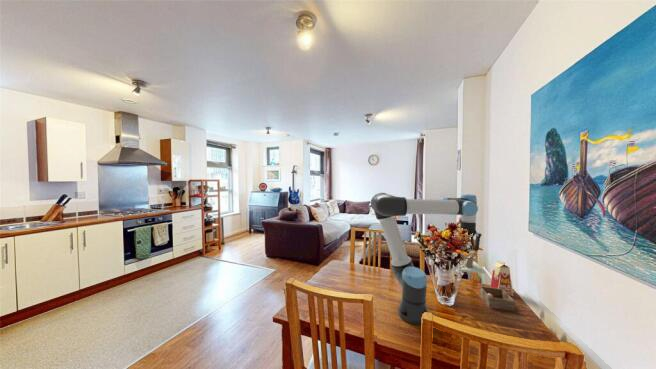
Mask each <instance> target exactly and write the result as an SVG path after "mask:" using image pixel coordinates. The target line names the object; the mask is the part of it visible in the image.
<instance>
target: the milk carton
mask: <svg viewBox="0 0 656 369" xmlns="http://www.w3.org/2000/svg"><path fill="white" fill-rule="evenodd" d="M505 263H506V262H504V261H503V262H501V261H499V260H496V263H495V264H494V265H493V269H492V273H491V279H490V285H489V286H490V287H491V288H500V289H503V290H504V291H505V292H506V293H507V294H508V295H509V296H510V297H511V296H512V297H514V292H513V285H512V279H511V278H512V277H511V270H510V267H509V266H508V265H506V264H505Z"/></svg>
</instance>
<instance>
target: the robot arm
mask: <svg viewBox="0 0 656 369" xmlns="http://www.w3.org/2000/svg"><path fill="white" fill-rule="evenodd" d="M477 200H478V199H477V196H476V195H475V194H470V193H469V194H467V193H465V194H464V193H463V194H461V196H460V197H441V198H440V199H419V198H418V199H417V198H416V199H414V198H412V199H411V198H409V199H407V198H406V197H405V196H404V197H403V196H396V195H395V196H394V195H392V194H389V193H386V192H377V193H375V194H374V195H373V196H372V198H371V200H370V206H371V209H372V210H373V211H374V214H375V217H376V220H378V221H379V222H380V224H381V225H380V226H381V228H382V231H383V234H384V238H385V241H386V243H387V247H388V250H389V253H390V256H391V261H390V264H391V270H392V274H393V275H392V276H394V278H395V279H396V280H397V282H398V283H399V285H400V287H401V300H400V303H399V306H398V309H397V310H398V312H397V314H398V316H399V318H401V320H403V321H404V322H407V323H409V324H411V325H418V326H422V325H421V317H422V314H423V313H424V312H429V313H430V311H429V308H428V305H427V284H428V278H427V274H426V272H425V271H424V270H422V269H421V268H419V267H416V266H414V264H413V261H412V257H410V256H408V255H407V251H406V248H405V245H404V241H403V238H402V234H401V232H400V229H399V225H398V222H397V220H396V217H405V216H407V215H454V216H455V215H456V216H460V222H459V223H460V226H459V228H460V227H461V228H463V229H467V230H468V235H470V234H472V233H473V236H472V237H471V240H470V239H469V242H470V241H471V244H472V246H473V248H474V250H475V252H478V251H479V250H480V243H481V242H480V241H481V237H482V233H480V232H478V231H477V229H476V228H477V223H476V222H477V213H478V211H479V210H478V209H479V207H478V205H477V203H478V202H477ZM461 221H462V222H461ZM474 237H475V239H474ZM474 240H475V242H474Z"/></svg>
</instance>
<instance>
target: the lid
mask: <svg viewBox="0 0 656 369" xmlns="http://www.w3.org/2000/svg"><path fill="white" fill-rule="evenodd" d="M472 250H473V246H472ZM458 272H465V273H475V274H484V275H485V274H486V271H485V270H484V269H483V268H482V267H481V266H480V264H478V263H477V262H476V261H475V260H474V257H473V256H472V257H470V258H468V261H467V264H466V267H465V268H461V269H459V271H458Z"/></svg>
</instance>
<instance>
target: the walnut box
mask: <svg viewBox="0 0 656 369" xmlns="http://www.w3.org/2000/svg"><path fill="white" fill-rule="evenodd" d="M487 293H490V294H492V296H493V298H491V297H490V296H489V295H488V294H487ZM478 295H479V296H480V298H481V299H482V300H483V303H485V305H486V306H487V307H488V308H490V309H498V310H505V311H513V312H515V311H516V300H515V299H514V298H512V297H511V296H509V295H508V294H507V293H506V292H505V291H504V290H503V289H500V288H491V287H489V286H483V285H482V286H481V285H480V286H478Z"/></svg>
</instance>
